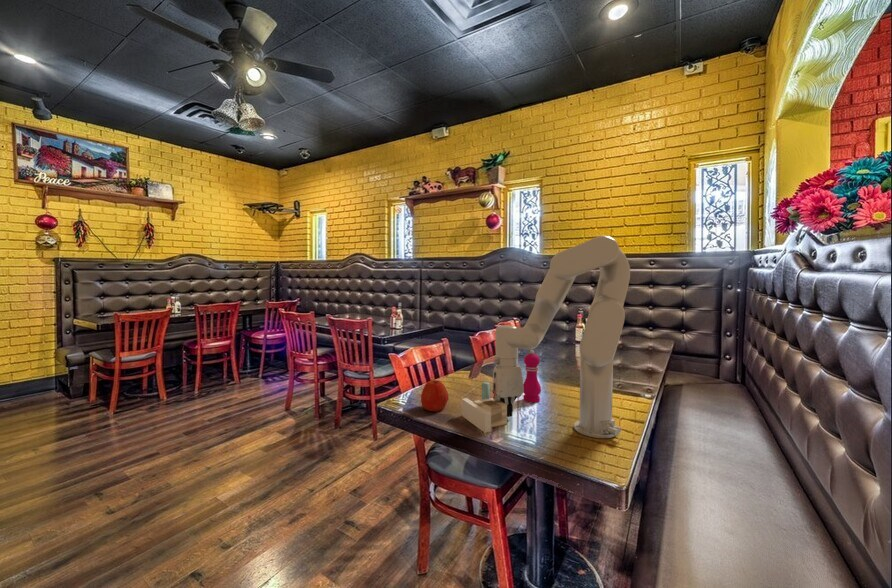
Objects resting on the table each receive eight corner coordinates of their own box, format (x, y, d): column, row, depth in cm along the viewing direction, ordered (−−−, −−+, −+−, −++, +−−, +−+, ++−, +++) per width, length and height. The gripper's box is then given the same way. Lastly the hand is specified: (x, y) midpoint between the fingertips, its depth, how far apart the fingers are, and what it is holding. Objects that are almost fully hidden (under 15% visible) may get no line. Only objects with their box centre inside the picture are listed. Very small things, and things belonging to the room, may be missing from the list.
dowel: (491, 411, 134) (491, 383, 134) (484, 412, 133) (484, 384, 133) (487, 408, 137) (487, 381, 137) (480, 409, 136) (480, 382, 135)
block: (506, 424, 122) (506, 404, 122) (485, 428, 119) (485, 408, 119) (493, 416, 130) (493, 397, 129) (473, 419, 126) (473, 400, 126)
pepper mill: (539, 397, 149) (539, 348, 149) (542, 403, 142) (542, 351, 141) (521, 397, 150) (521, 348, 149) (523, 403, 143) (523, 351, 142)
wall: (490, 431, 116) (490, 412, 116) (485, 432, 115) (485, 413, 115) (466, 414, 131) (466, 398, 131) (461, 415, 130) (461, 398, 130)
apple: (454, 408, 137) (453, 380, 137) (433, 415, 130) (433, 386, 130) (435, 401, 145) (435, 375, 144) (414, 408, 138) (414, 380, 137)
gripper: (493, 366, 120) (494, 422, 121) (531, 361, 126) (532, 415, 127) (482, 362, 127) (483, 415, 128) (519, 357, 133) (519, 408, 134)
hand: (507, 415), depth 127 cm, fingers closed
